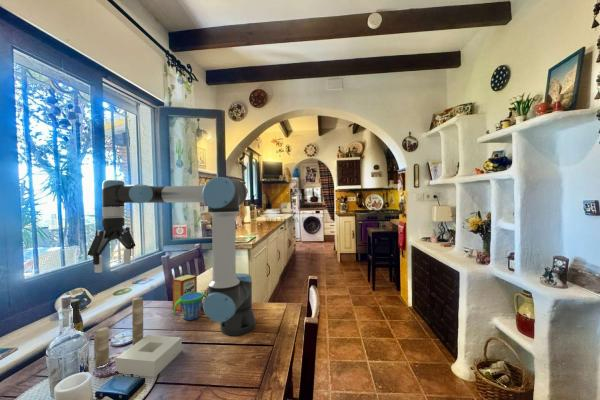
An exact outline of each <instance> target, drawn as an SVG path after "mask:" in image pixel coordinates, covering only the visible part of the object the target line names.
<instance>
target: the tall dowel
mask: <svg viewBox="0 0 600 400" xmlns="http://www.w3.org/2000/svg"><path fill="white" fill-rule="evenodd" d="M131 303H132V305H131V306H132V309H131V310H132V311H131V312H132V315H131V317H132V321H131V322H132V331H131V332H132V333H131V335H132V338H131V339H132V344H131V346H133V345H134V344H136V343H137V342H138V341H140V340H141V339H143V338H144V297H135V298H133V299H132V300H131Z"/></svg>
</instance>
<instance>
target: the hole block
mask: <svg viewBox="0 0 600 400" xmlns="http://www.w3.org/2000/svg"><path fill="white" fill-rule="evenodd" d="M182 341H183V339H182V337H178V336H166V335H155V334H154V335H153V334H147V335H146V336H143V339H141V340H140V341H138V342H137V343H136V344H134V345H131V346H130V347H129V348H128V349H126V350H124V351H122V353H120V354H118V355H117V356H115V358H114V359H115V360H114V361H115V364H114V365H115V369H114V370H117V371H118V372H119V373H123V374H122V375H127V374H134V375H133V376H136V375H138V376H139V377H146V376H147V377H148V378H155V377H157V376H158V375H159V374H160V373H161V372H162V371H163V370H164V369H165V368H166V367H167V366H168V365H169V364H170V363H171V362H172V361H173V360H174V359H176V358H177V356H178V355H179V354H180V353H182V352H183V351H182V350H183V349H182V348H183V347H182V345H183V343H182Z"/></svg>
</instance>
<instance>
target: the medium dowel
mask: <svg viewBox="0 0 600 400" xmlns="http://www.w3.org/2000/svg"><path fill="white" fill-rule="evenodd" d="M109 330H110V328H109V327H108V326H107V327H106V326H104V327H100V328H99V329H96V330H95V335H96V360H95V368H96V367H99V366H103V365H105V364H107V363H108V362H109V363H110V361H109V360H110V356H109V355H110V348H109V347H110V345H109V344H110V340H109V339H110V333H109V332H110V331H109Z"/></svg>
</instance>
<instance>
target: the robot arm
mask: <svg viewBox="0 0 600 400" xmlns="http://www.w3.org/2000/svg"><path fill="white" fill-rule="evenodd" d="M247 195H248V192H247V188H246V185H245V184H244V183H243V182H241V181H240V180H238V179H233V178H230V177H229V178H228V177H226V176H225V177H223V176H217V177H213V178H211V179H209V180H208V181H207V182H206V183H205V185H179V186H178V185H171V186H170V185H166V186H165V185H164V186H163V185H161V186H159V185H157V186H153V185H152V186H151V185H147V184H141V183H140V184H138V183H137V184H125V181H124V180H117V179H105V180H103V181H102V185H101V200H102V201H101V205H102V206H101V211H102V212H101V214H102V215H101V216H102V217H103V218H102V220H101V223H102V224H101V226H102V228H103V230H101V229H100V230H99V229H98V230H95V235H94V238H93V240H92V243H91V245H90V248H89V249H88V251H87V254H86V255H87V256H90V257H92V264H93V265H94V273H97V274H98V273H99V274H100V273H101V274H102V273H103V255H102V253H103V252H104V250H105V248H106V247H107V246H108V245H109V243H110V242H112V241H114V240H117V241H119V242H120V243H121V245H122V246H123V247H124V249H123V265H131V262H132V261H131V260H132V259H131V256H132V250H133V249H134V248H135V247H136V243H135V241H134V238H133V236H132V233H131V232H130V231H131V229H130V227H129V226H127V227H126V226H125V225H126V223H125V217H124V216H126V215H125V212H126V211H125V204H149V203H152V204H153V203H154V204H155V203H157V204H159V203H160V204H164V203H165V204H166V203H205V204H206V205H207V213H208V214H209V215H210V216H211V217H212V220H211V221H212V227H211V228H212V229H211V230H212V234H211V235H212V239H211V240H212V278H211V280H210V281H209V283H208V294H207V295H206V296H207V297H205V298H204V300H203V301H202V308H203V312H204V314H205V316H206V317H208V319H210V320H211V321H213V322H215V323H220V331H221V333H222V334H224V335H227V336H241V335H246V334H248V333H251V332H252V331H253V330H254V329H255V328H256V325H257V323H256V317H255V313H254V310H253V306H252V305H253V304H252V303H253V301H252V298H253V297H252V296H253V295H252V293H253V289H252V286H253V281H252V280H253V279H252V275H250V274H248V273H236V270H237V269H236V264H237V263H236V259H237V257H236V252H237V251H236V216H237V215H238V214H239V213H240V206H241V205H242V204H244V202H245V200H246V199H247V197H248V196H247Z"/></svg>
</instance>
